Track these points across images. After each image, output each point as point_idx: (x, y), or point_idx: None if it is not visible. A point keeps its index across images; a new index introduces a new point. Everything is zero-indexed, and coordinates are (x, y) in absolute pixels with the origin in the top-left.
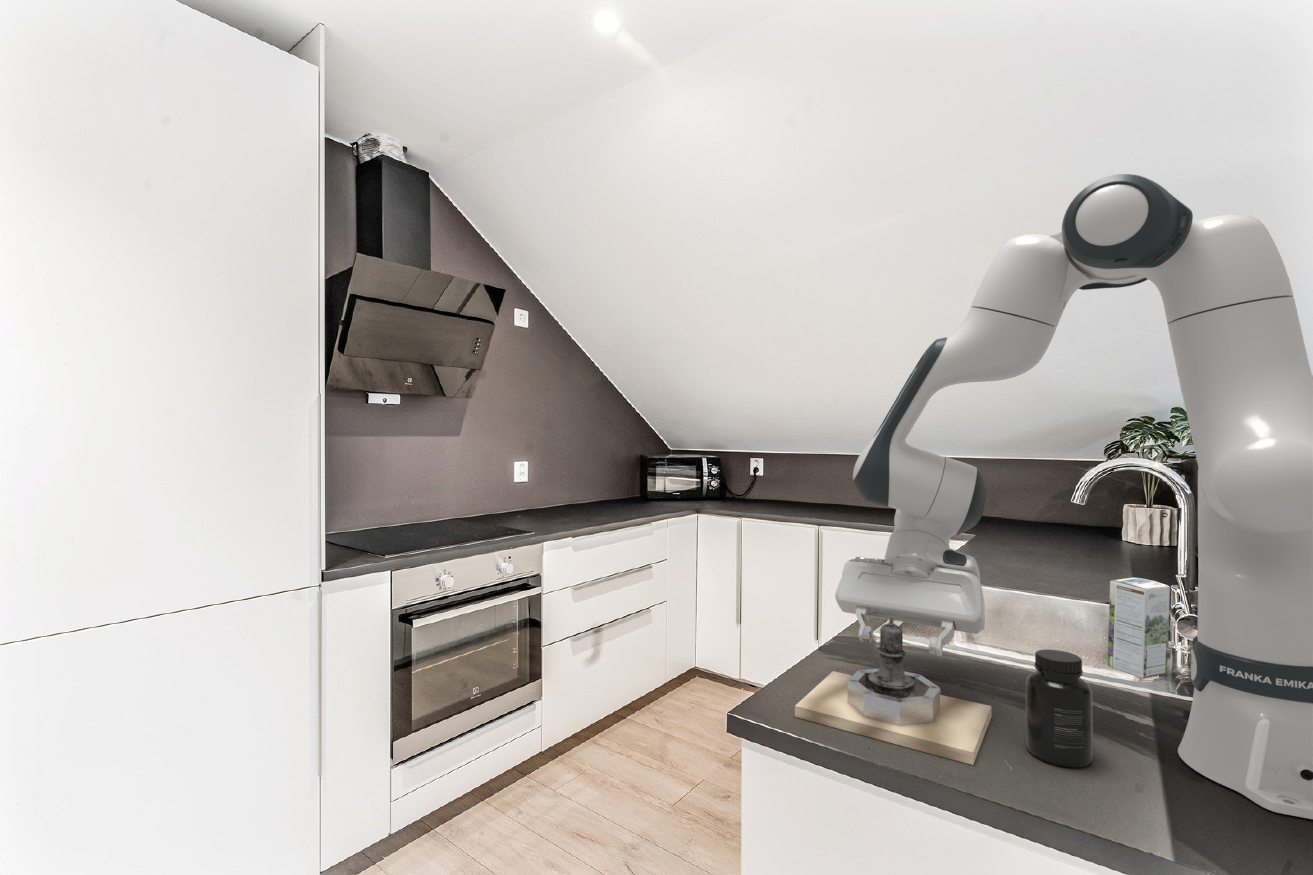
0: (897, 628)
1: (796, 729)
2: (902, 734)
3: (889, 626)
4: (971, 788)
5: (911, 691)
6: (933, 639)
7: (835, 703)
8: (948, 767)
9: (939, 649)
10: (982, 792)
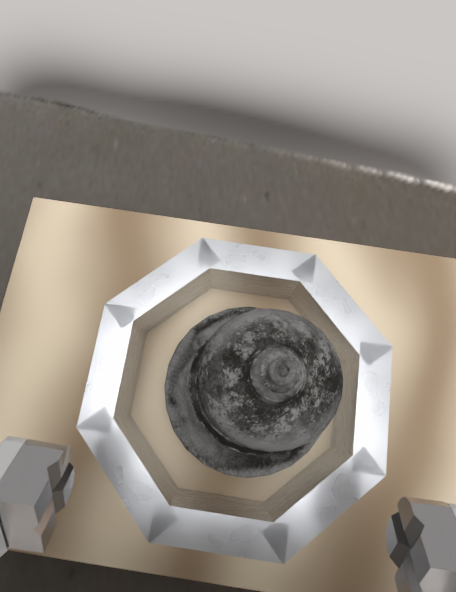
0: (228, 344)
1: (439, 211)
2: (195, 221)
3: (284, 340)
4: (59, 122)
5: (186, 493)
6: (18, 493)
7: (394, 329)
8: (98, 182)
9: (8, 439)
10: (41, 117)
